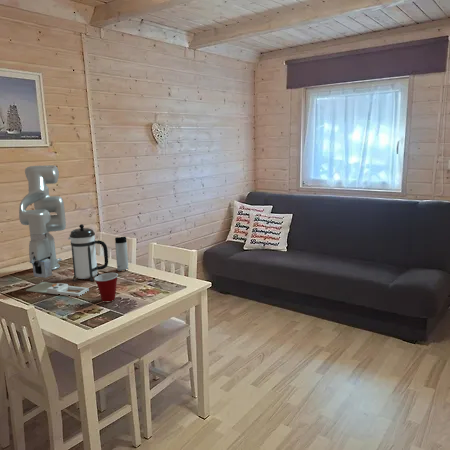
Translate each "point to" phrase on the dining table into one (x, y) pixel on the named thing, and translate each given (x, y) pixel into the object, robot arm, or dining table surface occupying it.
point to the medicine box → (44, 268)
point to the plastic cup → (107, 285)
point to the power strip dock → (65, 289)
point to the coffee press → (85, 253)
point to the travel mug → (121, 253)
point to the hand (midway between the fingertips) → (42, 271)
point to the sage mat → (41, 287)
